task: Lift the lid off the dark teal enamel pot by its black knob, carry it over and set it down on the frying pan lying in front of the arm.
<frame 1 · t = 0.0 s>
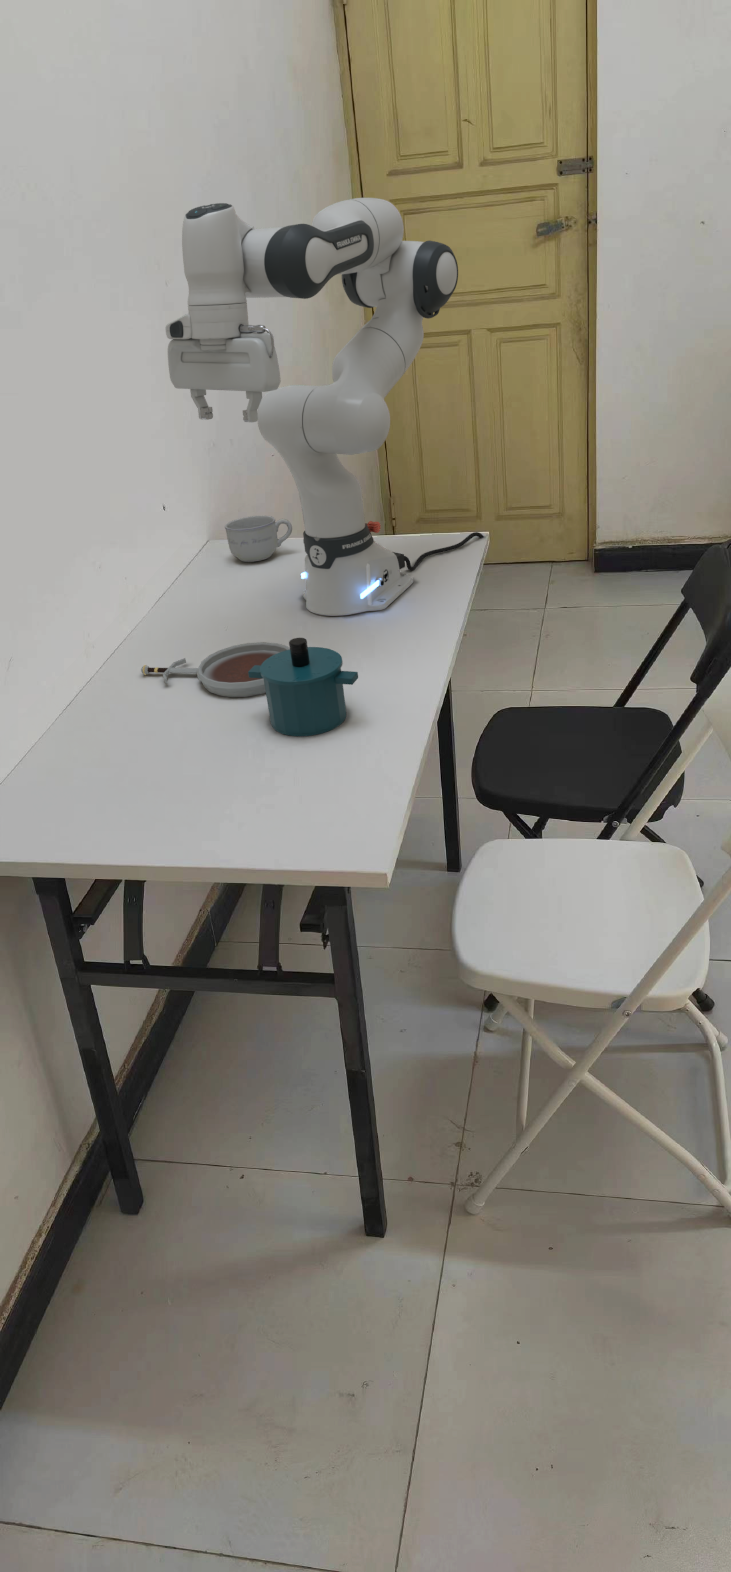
hand: (228, 420, 174), 39 cm above the table, tool pointing down, fingers open, 8 cm apart
lid: (301, 667, 164), point 8 cm above the table, touching pot
pot: (308, 718, 168), on the table
frying pan: (219, 677, 186), on the table
teacup: (262, 558, 237), on the table
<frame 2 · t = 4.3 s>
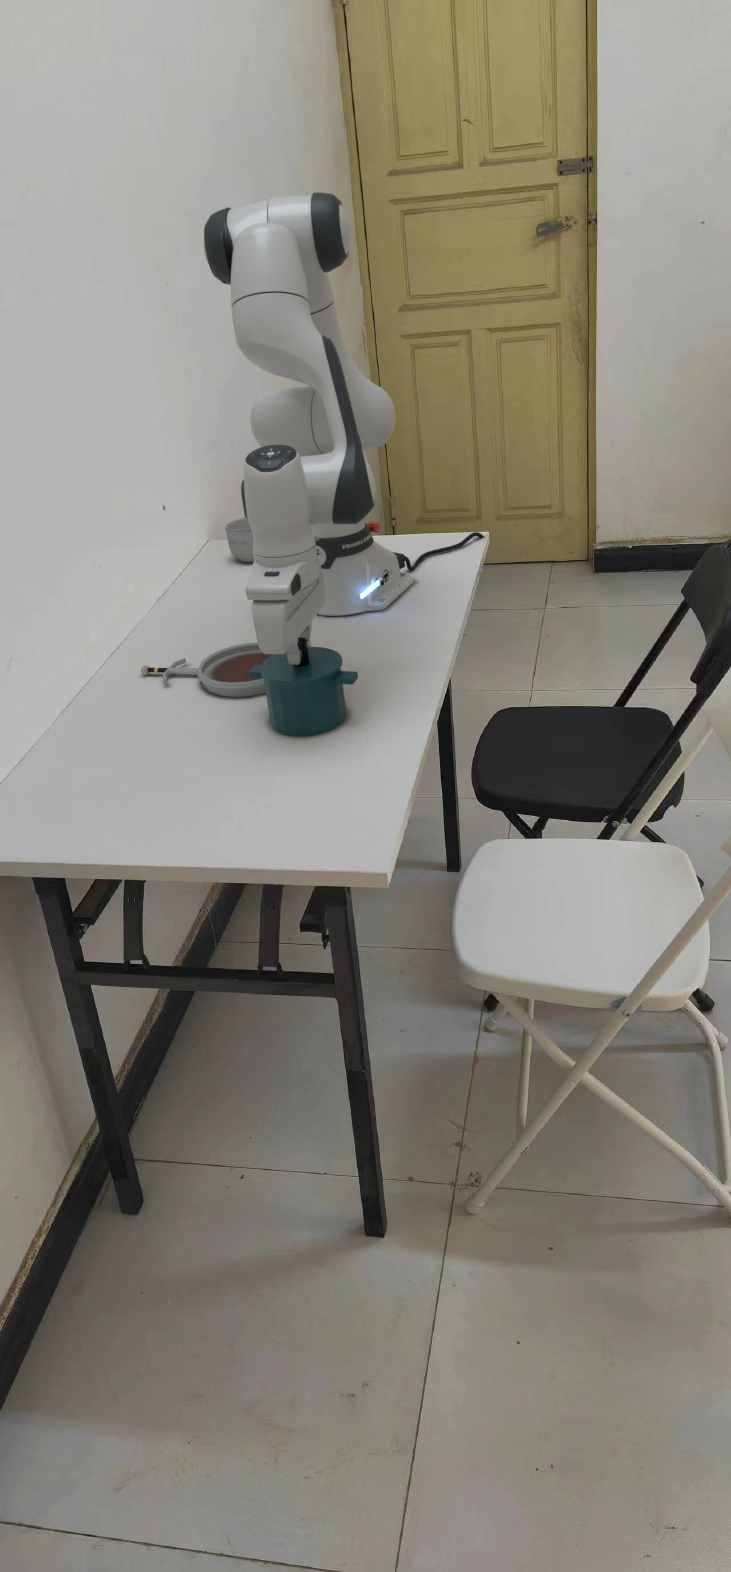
hand: (300, 657, 163), 10 cm above the table, tool pointing down, fingers closed on lid, 2 cm apart
lid: (301, 667, 164), point 9 cm above the table, touching gripper, pot
everything else where it was.
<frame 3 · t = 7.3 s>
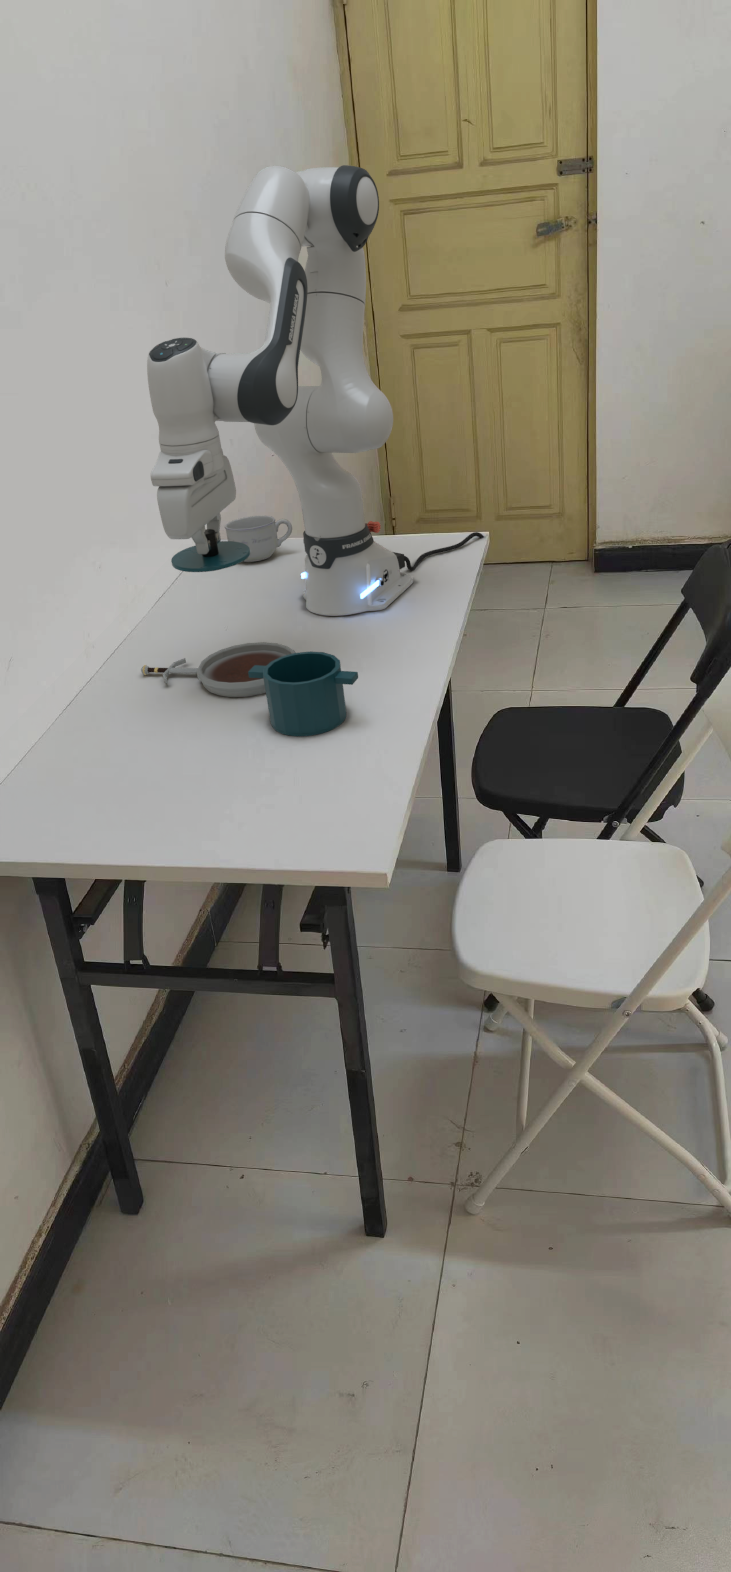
hand: (209, 548, 172), 23 cm above the table, tool pointing down, fingers closed on lid, 2 cm apart
lid: (211, 558, 172), point 21 cm above the table, touching gripper
everything else where it was.
when the fingers open (5 cm above the table, at t = 10.7 s): lid stays where it is, resting on frying pan.
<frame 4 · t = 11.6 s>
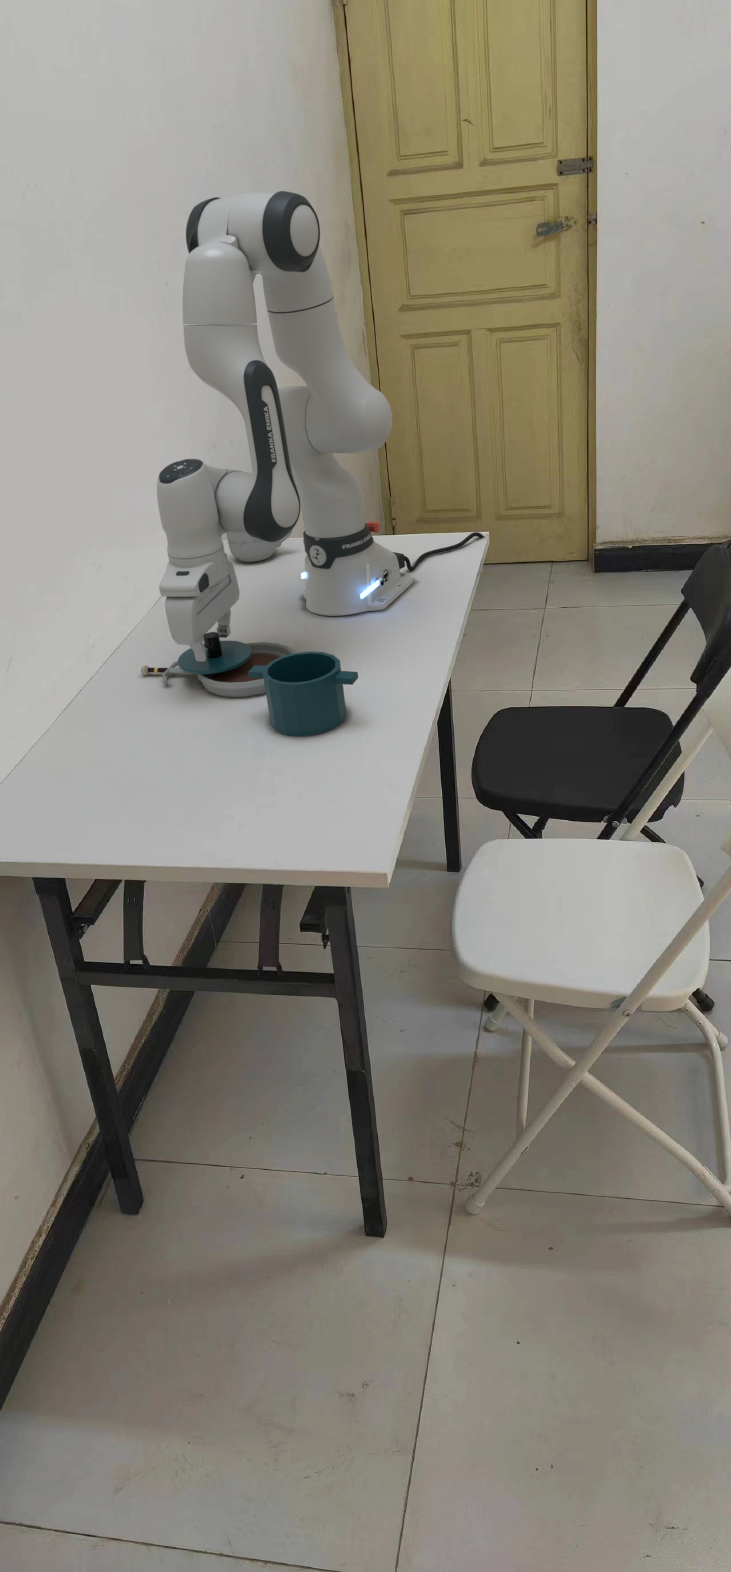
hand: (213, 647, 183), 5 cm above the table, tool pointing down, fingers open, 8 cm apart
lid: (215, 658, 184), point 3 cm above the table, touching frying pan
frying pan: (219, 677, 186), on the table, touching lid
everything else where it was.
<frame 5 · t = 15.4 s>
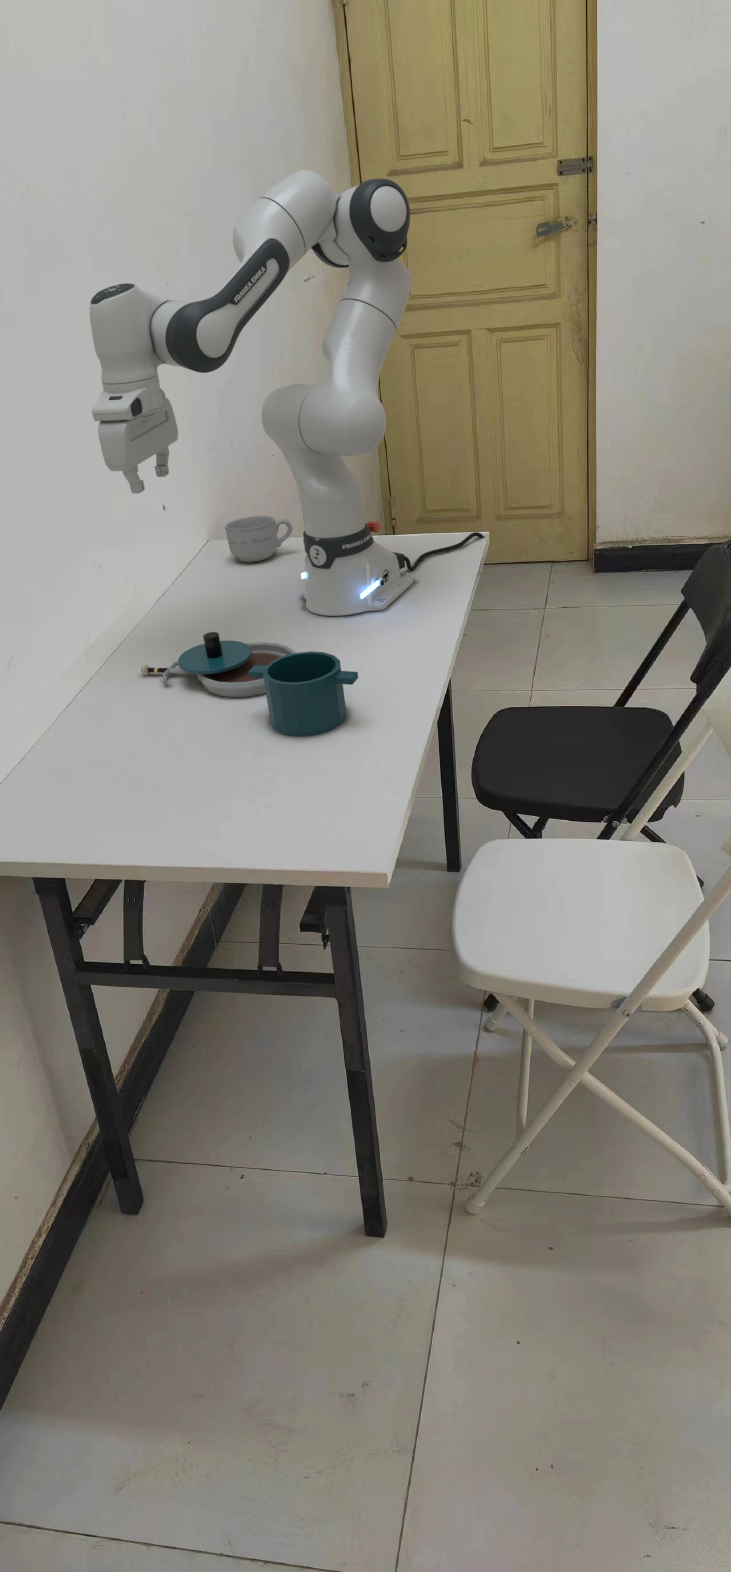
hand: (151, 483, 184), 29 cm above the table, tool pointing down, fingers open, 8 cm apart
nothing on the table moved.
at the end: lid touching frying pan; lid 0.1 cm from the frying pan (horizontally); lid tilted 0° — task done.
